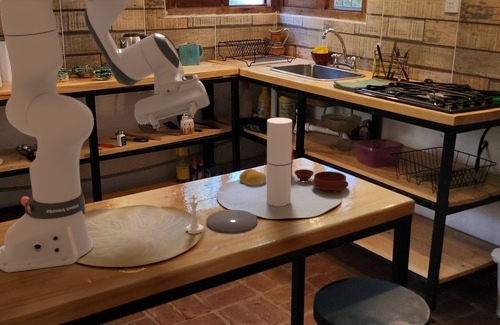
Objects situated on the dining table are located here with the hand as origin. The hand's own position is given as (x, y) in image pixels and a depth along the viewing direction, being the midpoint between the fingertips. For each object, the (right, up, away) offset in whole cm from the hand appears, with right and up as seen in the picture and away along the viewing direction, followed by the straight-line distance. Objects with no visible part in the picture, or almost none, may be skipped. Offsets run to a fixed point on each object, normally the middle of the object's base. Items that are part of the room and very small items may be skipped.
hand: (173, 121), depth 147 cm
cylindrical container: (+29, -23, +23) cm, 43 cm away
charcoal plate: (+15, -27, +9) cm, 32 cm away
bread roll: (+21, -17, +41) cm, 49 cm away
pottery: (+42, -19, +37) cm, 59 cm away
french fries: (+32, -15, +48) cm, 60 cm away
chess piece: (+5, -29, +4) cm, 30 cm away
